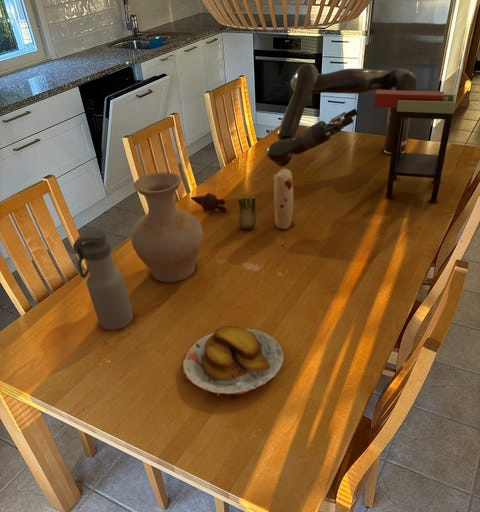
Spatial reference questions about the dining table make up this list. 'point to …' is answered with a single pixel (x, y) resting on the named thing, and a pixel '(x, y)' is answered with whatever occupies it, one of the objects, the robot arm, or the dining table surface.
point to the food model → (283, 198)
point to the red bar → (405, 97)
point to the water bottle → (103, 281)
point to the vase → (165, 230)
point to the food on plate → (233, 360)
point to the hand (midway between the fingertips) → (354, 115)
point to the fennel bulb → (247, 213)
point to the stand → (417, 162)
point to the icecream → (210, 202)
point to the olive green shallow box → (428, 105)
